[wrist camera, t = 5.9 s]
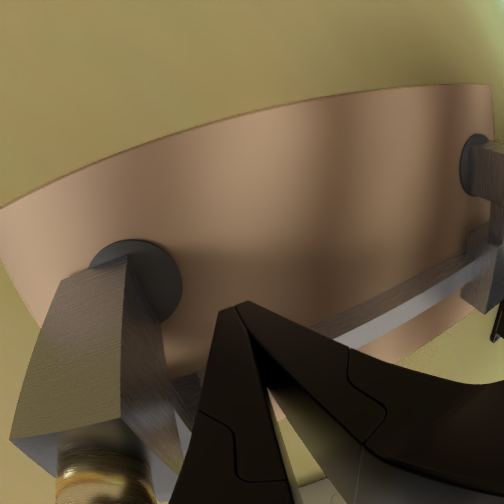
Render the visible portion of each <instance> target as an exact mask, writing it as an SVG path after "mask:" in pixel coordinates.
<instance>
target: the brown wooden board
mask: <svg viewBox="0 0 504 504" xmlns="http://www.w3.org/2000/svg"><path fill="white" fill-rule="evenodd" d="M486 140H492V141H495V140H494V120H493V107H492V97H491V88H490V85H484V84H438V85H420V86H406V87H395V88H385V89H375V90H367V91H359V92H352V93H345V94H338V95H332V96H326V97H320V98H314V99H309V100H303V101H298V102H293V103H288V104H283V105H278V106H274V107H269V108H265V109H260V110H256V111H252V112H248V113H244V114H240V115H236V116H232V117H228V118H224V119H221V120H217V121H213V122H210V123H206V124H203V125H200V126H196V127H193V128H190V129H186V130H183V131H180V132H177V133H174V134H170V135H167V136H164V137H161V138H158V139H155V140H153V141H150V142H147V143H144V144H141V145H138V146H136V147H133V148H130V149H127V150H125V151H122V152H119V153H117V154H114V155H112V156H109V157H107V158H104V159H102V160H99V161H97V162H94V163H92V164H90V165H87V166H85V167H82V168H80V169H78V170H76V171H73V172H71V173H69V174H67V175H64V176H62V177H60V178H58V179H56V180H53V181H51V182H49V183H47V184H45V185H43V186H41V187H39V188H37V189H35V190H33V191H31V192H29V193H27V194H25V195H23V196H21V197H19V198H17V199H15V200H13V201H11V202H10V203H8V204H6V205H4V206H2V207H0V258H1V260H2V262H3V264H4V266H5V268H6V270H7V272H8V274H9V276H10V278H11V280H12V282H13V283H14V285H15V287H16V289H17V291H18V292H19V294H20V296H21V298H22V299H23V301H24V303H25V304H26V306H27V308H28V309H29V311H30V313H31V314H32V316H33V318H34V319H35V321H36V322H37V324H38V326H39V327H40V329H41V328H42V325H43V322H44V320H45V317H46V315H47V312H48V310H49V307H50V305H51V302H52V300H53V297H54V295H55V293H56V290H57V288H58V286H59V283H60V281H61V280H63V279H65V278H68V277H70V276H73V275H75V274H78V273H80V272H83V271H85V270H88V269H90V268H93V267H96V266H98V265H101V264H103V263H106V262H108V261H111V260H114V259H116V258H119V257H122V256H124V255H127V254H128V256H129V259H130V261H131V263H132V265H133V268H134V270H135V272H136V274H137V277H138V279H139V281H140V283H141V285H142V288H143V290H144V292H145V294H146V296H147V298H148V300H149V302H150V304H151V306H152V309H153V311H154V313H155V315H156V317H157V319H158V321H159V323H160V325H161V329H162V337H163V344H164V351H165V358H166V365H167V372H168V377H169V379H170V380H171V379H174V378H177V377H180V376H183V375H186V374H189V373H192V372H195V371H198V370H201V369H203V368H206V365H207V361H208V356H209V352H210V347H211V342H212V338H213V333H214V329H215V324H216V320H217V315H218V312H219V311H220V310H223V309H225V308H228V307H231V306H235V305H236V304H239V303H241V302H244V301H247V300H249V301H252V302H254V303H256V304H258V305H260V306H262V307H264V308H266V309H268V310H270V311H273V312H275V313H277V314H279V315H281V316H283V317H285V318H287V319H289V320H292V321H294V322H296V323H298V324H300V325H302V326H304V327H310V326H312V325H314V324H317V323H319V322H321V321H323V320H325V319H328V318H330V317H332V316H334V315H336V314H339V313H341V312H343V311H345V310H347V309H349V308H351V307H354V306H356V305H358V304H360V303H362V302H364V301H366V300H368V299H370V298H372V297H374V296H376V295H378V294H380V293H382V292H384V291H386V290H388V289H390V288H392V287H394V286H396V285H398V284H400V283H402V282H404V281H406V280H408V279H410V278H411V277H413V276H415V275H417V274H419V273H421V272H423V271H425V270H426V269H428V268H430V267H432V266H434V265H435V264H437V263H439V262H441V261H443V260H444V259H446V258H448V257H450V256H451V255H453V254H455V253H457V252H458V251H460V250H462V249H464V248H465V247H466V245H467V234H468V232H469V231H471V230H472V229H474V228H476V227H478V226H480V225H481V224H483V223H485V222H487V221H488V220H489V218H490V204H491V201H488V200H486V199H483V198H481V197H478V196H475V195H473V194H470V193H469V148H468V145H470V144H474V143H478V142H482V141H486ZM460 292H461V288H460V289H458V290H457V291H455V292H454V293H452V294H451V295H449V296H448V297H446V298H444V299H443V300H441V301H440V302H438V303H437V304H435V305H433V306H432V307H430V308H428V309H427V310H425V311H424V312H422V313H420V314H419V315H417V316H415V317H414V318H412V319H410V320H408V321H407V322H405V323H403V324H401V325H400V326H398V327H396V328H394V329H393V330H391V331H389V332H387V333H385V334H384V335H382V336H380V337H378V338H376V339H374V340H372V341H371V342H369V343H367V344H365V345H363V346H361V347H359V348H357V349H356V350H358V351H360V352H363V353H365V354H367V355H370V356H372V357H375V358H377V359H380V360H382V361H385V362H388V363H391V364H394V363H396V362H398V361H399V360H401V359H403V358H404V357H406V356H408V355H409V354H411V353H412V352H414V351H416V350H417V349H419V348H420V347H422V346H423V345H425V344H427V343H428V342H430V341H431V340H433V339H434V338H436V337H437V336H439V335H440V334H442V333H443V332H444V331H446V330H447V329H449V328H450V327H452V326H453V325H454V324H456V323H457V322H459V321H460V320H461V319H463V318H464V317H465V316H467V315H468V314H470V313H471V312H472V311H474V310H475V309H476V308H474V307H473V306H472V305H470V304H469V303H467V302H466V301H465V300H463V299H462V298H460ZM268 392H269V390H268ZM269 395H270V399H271V402H272V405H273V409H274V412H275V415H276V418H277V422H278V421H280V420H283V419H285V418H286V416H285V415H284V413H283V412H282V410H281V409H280V407H279V406H278V404H277V403H276V401H275V399H274V398H273V396H272V395H271V393H270V392H269Z"/></svg>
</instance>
